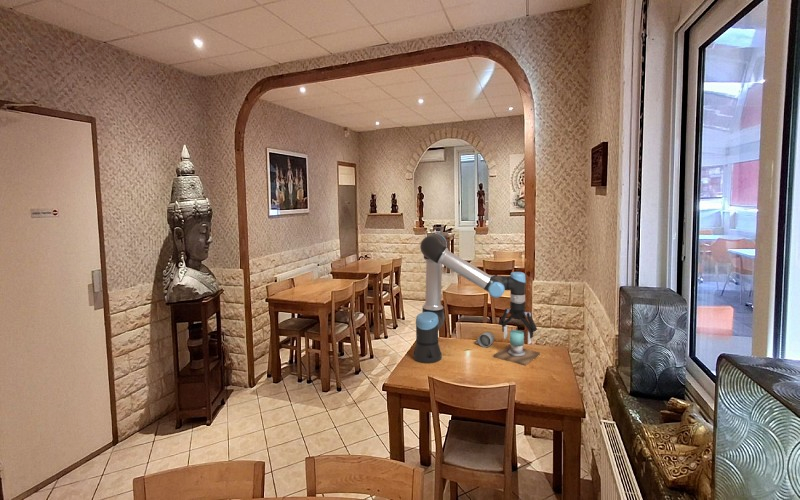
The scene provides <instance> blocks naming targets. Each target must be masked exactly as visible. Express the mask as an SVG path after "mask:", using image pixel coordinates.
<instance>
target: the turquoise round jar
mask: <svg viewBox="0 0 800 500" xmlns="http://www.w3.org/2000/svg"><path fill="white" fill-rule="evenodd" d="M524 344H525V332H524V331H523V330H520V329H519V330H518V329H517V330H516V329H511V330H510V331H509V345H515V346H521V345H524Z"/></svg>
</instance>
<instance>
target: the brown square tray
mask: <svg viewBox="0 0 800 500" xmlns="http://www.w3.org/2000/svg"><path fill="white" fill-rule="evenodd" d="M523 347H524V346H523V345H521V346H515V345H511V344H508V345H505V347H503V348H502V349H500V350H499V351H497V352H496V353H494V354H493V355H492V357H493V358H495V359H498V360H503V361H507V362H511V363H512V364H513V363H514V364H517V365H522V366H525V367H526V366H527V365H529V364H530V363H531V362H532V361H534V360H535V359H536V358H538V357H539V356H540V355H541V352H539V351H535V350H530V349H527V348H523ZM538 355H539V356H538ZM537 356H538V357H537ZM533 359H534V360H533Z"/></svg>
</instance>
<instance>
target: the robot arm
mask: <svg viewBox="0 0 800 500" xmlns="http://www.w3.org/2000/svg"><path fill="white" fill-rule="evenodd" d="M419 249H420V252H421V253H422V255H423V259H424V260H425V262H426V264H425V267H426V268H425V269H426V270H425V272H426V273H425V300H424V301H425V303H424V304H423V305H422V312H421V313H418V314H417V316H416V318H415V332H416V333H415V335H416V336H415V340H416V341H415V345H414V351H413V353H412V357H413V360H415V361H416V362H419V363H422V364H423V363H424V364H431V363H437V362H439V361H441V360H442V358H443V356H442V355H443V354H442V353H443V352H442V351H441V348H440V344H439V330H440V329H441V327H442V326H443V324H444V322H445V312H444V306H443V305H442V280H443V279H442V277H443V276H442V274H443V271H442V270H443V266H444V267H446V268H448V269H449V270H451V271H453V272H454V273H456V274H457V275H459V276H461V277H463V278H464V279H466V280H468V281H470V282H471V283H473V284H474V285H476V286H478V287H480V288H481V289H483V290H485V291H486V292H487V293H488V294H489V295H490V297H491V298H495V299H497V298H500V297H502V296H503V294H504V293H505V291H510V296H509V297H510V303H509V305H510V306H509V308H510V309H509V308H508V307H507V308H505V309H504V313H503V315H502V316H501V318H500V320H499V323H498V325H501V326H502V328H501V330H502V333H503V339H504V340H505V339H507V338H508V323H510V322H511V321H512V320H513V319H514V320H518V321H519V320H520V321H521V322H522V323H523V324H524V325H525V327H526V328H527V330H528V331H527V344H528V345H530V344H532V339H533V337H534V332H536V331H538V329H537V326H536V324H535V322H534V321H535V320H533V317H532V312H531V311H528V312H527V311H526V282H527V281H526V279H527V278H526V273H524V272H522V271H513V272H512V271H511V273H510V275H491V274H488V273H487V272H485V271H483V270H481V269H480V268H478V267H476V266H475V265H473V264H471V263H470V262H469V261H466V260H465V259H463V258H461V257H460V256H458V255H456V254H455V253H453V252H451V251H450V250H449V248H448V243H447V239H446V238H445V236H443V234H441V233H431V234H429V235H427V236H425V237H424V238H423V239H422V240H421V242H420V247H419ZM509 313H510V316H509V317H508V318H507V316H508V314H509Z"/></svg>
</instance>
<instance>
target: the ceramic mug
mask: <svg viewBox="0 0 800 500" xmlns="http://www.w3.org/2000/svg"><path fill="white" fill-rule="evenodd" d="M495 339H496V338H495V335H494V333H493V332H490V331H485V332H483V333H482V334H480V335H479V336H478V338H477V339H476V340H475V341H474V343H475V345H478V344H479V346H480V347H482V348H488V347H490V346H491V345H492V344H493V343H494V342H495Z"/></svg>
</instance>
